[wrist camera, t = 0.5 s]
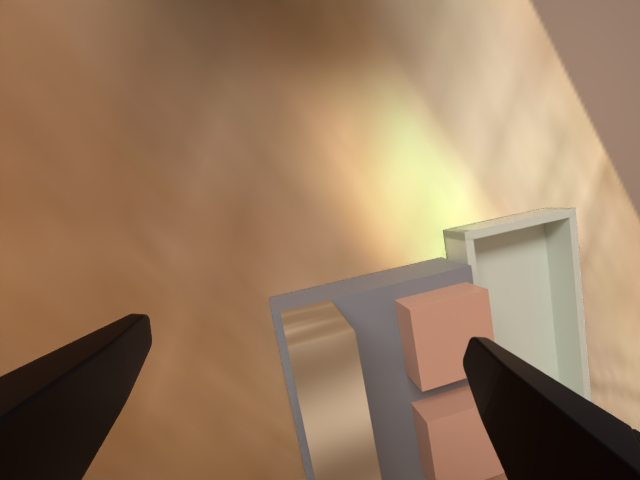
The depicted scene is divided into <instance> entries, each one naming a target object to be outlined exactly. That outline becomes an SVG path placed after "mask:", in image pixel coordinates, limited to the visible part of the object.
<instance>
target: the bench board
mask: <svg viewBox="0 0 640 480" xmlns="http://www.w3.org/2000/svg"><path fill="white" fill-rule="evenodd" d="M464 282H468V283H471V284H473V276H472V268H471V265H468V264H464V263H460V262H456V261H453V260H449V259H445V258H441V257H440V258H436V259H432V260H428V261H423V262H419V263H415V264H410V265H406V266H402V267H398V268H393V269H389V270H385V271H381V272H376V273H372V274H368V275H364V276H359V277H355V278H351V279H346V280H342V281H338V282H334V283H329V284H325V285H321V286H317V287H312V288H308V289H304V290H300V291H295V292H291V293H287V294H282V295H278V296H274V297H270V298H269V299H270V306H271V314H272V319H273V324H274V328H275V333H276V338H277V342H278V347H279V352H280V357H281V361H282V366H283V371H284V375H285V380H286V385H287V389H288V394H289V399H290V404H291V408H292V413H293V418H294V422H295V427H296V432H297V436H298V441H299V446H300V451H301V455H302V460H303V465H304V469H305V474H306V479H307V480H315V477H314V472H313V467H312V463H311V458H310V453H309V448H308V443H307V439H306V434H305V429H304V424H303V420H302V415H301V410H300V405H299V400H298V396H297V391H296V386H295V381H294V376H293V372H292V367H291V362H290V357H289V352H288V348H287V343H286V338H285V333H284V329H283V324H282V319H281V314H280V312H281V311H286V310H290V309H294V308H298V307H302V306H306V305H310V304H314V303H318V302H322V301H327V300H330V301H331V302H332V303H333V304H334V306H335V307H336V308H337V309H338V311H339V312H340V313H341V314H342V316H343V317H344V318H345V319H346V321H347V322H348V323H349V324H350V326H351V327H352V328H353V329H354V331H355V335H356V340H357V346H358V351H359V357H360V363H361V368H362V374H363V379H364V385H365V391H366V396H367V402H368V407H369V413H370V419H371V424H372V430H373V435H374V441H375V447H376V452H377V458H378V463H379V469H380V475H381V480H427V478H426V477H425V475H424V474H423V472H422V468H421V462H420V456H419V449H418V443H417V437H416V431H415V424H414V418H413V412H412V406H411V403H412V402H415V401H419V400H422V399H425V398H428V397H431V396H434V395H438V394H441V393H444V392H447V391H450V390H453V389H457V388H460V387H463V386H466V385H469V383H468V380H467V378H465V379H462V380H459V381H456V382H453V383H449V384H446V385H443V386H440V387H436V388H433V389H430V390H427V391H424V392H422V391H421V390H420V389H419V388H418V387H417V385H416V384H415V383H414V382H413V381H412V380H411V379H410V378H409V377H408V375H407V374H406V368H405V362H404V356H403V349H402V343H401V337H400V330H399V324H398V318H397V312H396V305H395V300H397V299H401V298H405V297H408V296H412V295H416V294H420V293H424V292H428V291H432V290H436V289H440V288H444V287H448V286H452V285H456V284H460V283H464Z"/></svg>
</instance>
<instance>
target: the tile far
mask: <svg viewBox="0 0 640 480" xmlns="http://www.w3.org/2000/svg"><path fill="white" fill-rule="evenodd" d="M411 406H412V412H413V418H414V424H415V431H416V437H417V443H418V449H419V456H420V462H421V468H422V472H423V474H424V475H425V477H426V478H427V480H487V479H489V478H492V477H495V476H497V475H500V474H503V473H505V472H504V470H503V468H502V465H501V463H500V461H499V459H498V457H497V454H496V452H495V450H494V448H493V445H492V443H491V441H490V439H489V436H488V434H487V432H486V430H485V427H484V425H483V423H482V420H481V418H480V415H479V412H478V410H477V407H476V404H475V401H474V398H473V395H472V392H471V389H470V386H469V385H466V386H463V387H460V388H457V389H453V390H450V391H447V392H444V393H441V394H438V395H434V396H431V397H428V398H425V399H422V400H419V401H415V402H412V403H411Z"/></svg>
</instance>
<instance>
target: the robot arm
mask: <svg viewBox="0 0 640 480" xmlns="http://www.w3.org/2000/svg"><path fill="white" fill-rule="evenodd" d="M151 344H152V335H151V327H150V319H149V317H148V316H147V315H145V314H130V315H128V316H125V317H123V318H121V319H119V320H117V321H115V322H113V323H111V324H109V325H107V326H105V327H103V328H101V329H98V330H96V331H94V332H92V333H90V334H88V335H86V336H84V337H82V338H80V339H78V340H76V341H74V342H72V343H69V344H67V345H65V346H63V347H61V348H59V349H57V350H55V351H53V352H51V353H49V354H47V355H45V356H42V357H40V358H38V359H36V360H34V361H32V362H30V363H28V364H26V365H24V366H22V367H20V368H18V369H15V370H13V371H11V372H9V373H7V374H5V375H3V376H1V377H0V480H82V478H83V476H84V474H85V473H86V471H87V469H88V468H89V466H90V464H91V462H92V461H93V459H94V457H95V455H96V454H97V452H98V450H99V448H100V447H101V445H102V443H103V442H104V440H105V438H106V436H107V435H108V433H109V431H110V429H111V428H112V426H113V424H114V422H115V421H116V419H117V417H118V416H119V414H120V412H121V410H122V408H123V407H124V405H125V403H126V401H127V399H128V397H129V395H130V393H131V391H132V388H133V386H134V384H135V382H136V379H137V377H138V375H139V373H140V370H141V368H142V366H143V364H144V361H145V359H146V357H147V355H148V352H149V350H150V348H151ZM463 368H464V371H465V374H466V377H467V380H468V383H469V386H470V389H471V392H472V395H473V398H474V401H475V404H476V407H477V410H478V412H479V415H480V418H481V420H482V423H483V425H484V427H485V430H486V432H487V434H488V436H489V439H490V441H491V443H492V445H493V448H494V450H495V452H496V454H497V457H498V459H499V461H500V463H501V465H502V468H503V470H504V472H505V474H506V477H507V479H508V480H640V432H639V431H637V430H636V429H632V428H631V427H630V426H629V425H627V424H626V423H624V422H623V421H621V420H619V419H618V418H616V417H615V416H613V415H611V414H610V413H608V412H606V411H605V410H603V409H602V408H600V407H598V406H597V405H595V404H593V403H592V402H590V401H589V400H587V399H585V398H584V397H582V396H581V395H579V394H577V393H576V392H574V391H572V390H571V389H569V388H568V387H566V386H564V385H563V384H561V383H560V382H558V381H556V380H555V379H553V378H551V377H550V376H548V375H547V374H545V373H543V372H542V371H540V370H539V369H537V368H535V367H534V366H532V365H530V364H529V363H527V362H526V361H524V360H522V359H521V358H519V357H518V356H516V355H514V354H513V353H511V352H509V351H508V350H506V349H505V348H503V347H501V346H500V345H498V344H497V343H495V342H493V341H492V340H490V339H488V338H486V337H471V338H470V340H469V342H468V345H467V348H466V351H465V354H464V357H463Z"/></svg>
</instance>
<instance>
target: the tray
mask: <svg viewBox="0 0 640 480" xmlns="http://www.w3.org/2000/svg"><path fill="white" fill-rule="evenodd" d="M443 233H444V240H445V248H446V255H447V259H449V260H453V261H456V262H460V263H464V264H468V265H471V268H472V276H473V284H474V285H477V286H480V287H482V288H485V289H488V292H489V301H490V309H491V317H492V326H493V334H494V342H495V343H497V344H498V345H500V346H501V347H503V348H505V349H506V350H508V351H509V352H511V353H513V354H514V355H516V356H518V357H519V358H521V359H522V360H524V361H526V362H527V363H529V364H530V365H532V366H534V367H535V368H537V369H539V370H540V371H542V372H543V373H545V374H547V375H548V376H550V377H551V378H553V379H555V380H556V381H558V382H560V383H561V384H563V385H564V386H566V387H568V388H569V389H571V390H572V391H574V392H576V393H577V394H579V395H581V396H582V397H584V398H585V399H587V400H589V401H590V402H591V392H590V380H589V367H588V355H587V343H586V330H585V318H584V305H583V293H582V281H581V268H580V256H579V243H578V231H577V219H576V208H542V209H537V210H533V211H528V212H524V213H519V214H515V215H510V216H505V217H501V218H496V219H492V220H487V221H483V222H478V223H473V224H469V225H464V226H460V227H455V228H450V229H446V230H443Z"/></svg>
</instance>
